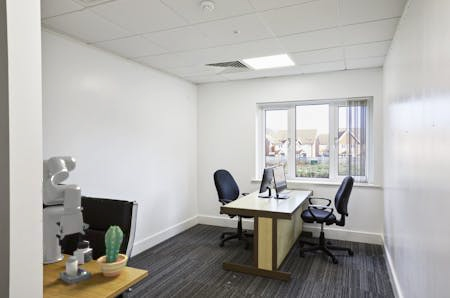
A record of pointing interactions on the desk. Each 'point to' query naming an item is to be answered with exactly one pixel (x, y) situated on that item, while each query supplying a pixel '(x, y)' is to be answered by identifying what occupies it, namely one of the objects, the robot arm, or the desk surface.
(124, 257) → the potted cactus
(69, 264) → the shaker
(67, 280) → the tray
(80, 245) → the medicine bottle
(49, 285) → the desk surface
